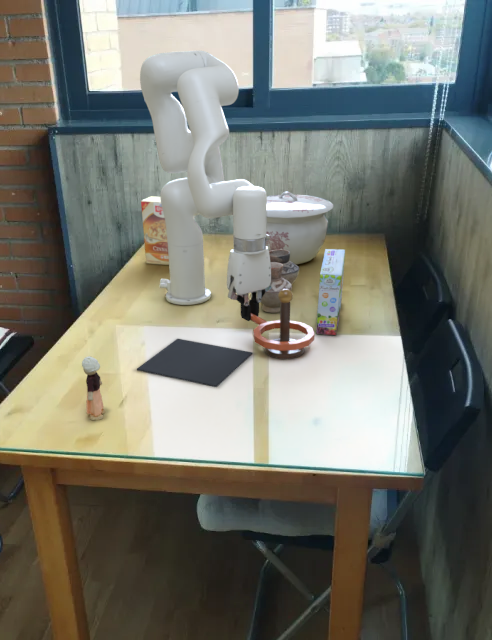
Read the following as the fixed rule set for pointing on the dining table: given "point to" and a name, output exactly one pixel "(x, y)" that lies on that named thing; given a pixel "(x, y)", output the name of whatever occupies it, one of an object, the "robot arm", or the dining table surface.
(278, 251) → the pottery
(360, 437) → the dining table surface
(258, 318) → the orange ring with handle
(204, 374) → the mat
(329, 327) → the snack box
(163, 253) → the coffeecake box
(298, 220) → the chamber pot
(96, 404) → the grandmother figurine
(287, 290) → the coat peg
